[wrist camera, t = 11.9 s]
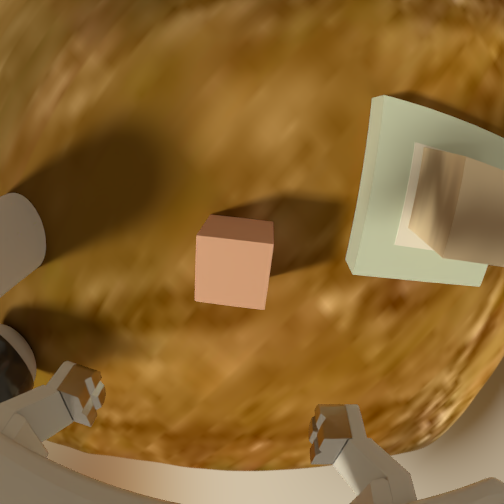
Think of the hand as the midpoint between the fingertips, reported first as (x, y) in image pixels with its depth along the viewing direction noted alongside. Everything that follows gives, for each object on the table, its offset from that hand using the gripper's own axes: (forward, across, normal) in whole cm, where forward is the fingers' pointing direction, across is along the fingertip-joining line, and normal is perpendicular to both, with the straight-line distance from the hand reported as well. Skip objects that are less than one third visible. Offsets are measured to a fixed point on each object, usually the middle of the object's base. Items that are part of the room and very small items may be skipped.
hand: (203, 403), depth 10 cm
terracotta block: (+14, 0, -1) cm, 14 cm away
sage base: (+14, -14, -7) cm, 21 cm away
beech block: (+11, -14, -7) cm, 19 cm away
